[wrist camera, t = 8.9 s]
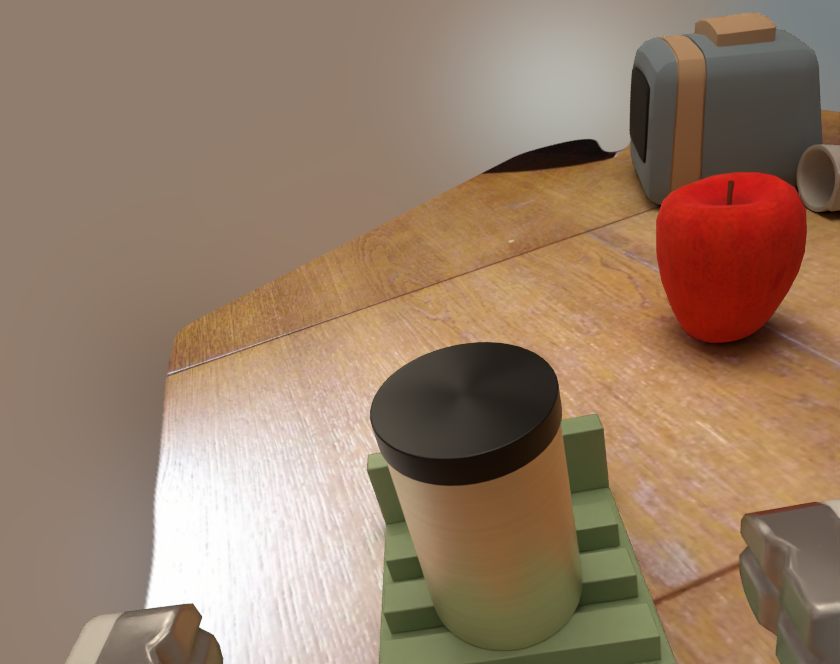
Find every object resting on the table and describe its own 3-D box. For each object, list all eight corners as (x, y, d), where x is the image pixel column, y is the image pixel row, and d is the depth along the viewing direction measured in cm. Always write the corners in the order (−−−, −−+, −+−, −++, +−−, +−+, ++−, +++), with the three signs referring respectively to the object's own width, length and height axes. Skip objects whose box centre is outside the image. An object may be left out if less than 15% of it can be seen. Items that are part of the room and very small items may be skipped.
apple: (784, 377, 38) (798, 211, 33) (641, 355, 43) (633, 208, 38) (807, 306, 44) (822, 155, 39) (678, 294, 49) (676, 159, 44)
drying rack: (711, 768, 22) (712, 687, 19) (378, 808, 23) (340, 736, 21) (604, 484, 34) (597, 412, 32) (390, 520, 35) (367, 454, 33)
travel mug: (620, 587, 26) (601, 389, 21) (487, 689, 23) (430, 492, 18) (517, 497, 31) (483, 323, 26) (402, 572, 29) (340, 396, 24)
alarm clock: (629, 166, 77) (621, 27, 70) (775, 142, 73) (783, -9, 65) (648, 214, 64) (640, 47, 56) (829, 188, 59) (847, 4, 52)
